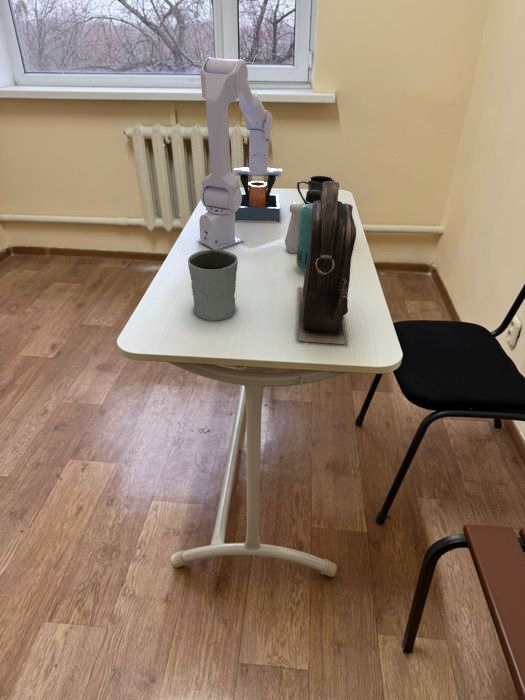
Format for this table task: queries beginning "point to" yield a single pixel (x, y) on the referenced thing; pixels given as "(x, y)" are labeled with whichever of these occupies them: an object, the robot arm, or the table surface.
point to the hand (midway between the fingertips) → (257, 199)
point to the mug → (314, 184)
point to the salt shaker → (293, 227)
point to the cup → (257, 194)
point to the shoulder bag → (327, 269)
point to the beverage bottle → (306, 227)
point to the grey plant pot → (213, 283)
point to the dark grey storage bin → (259, 210)
